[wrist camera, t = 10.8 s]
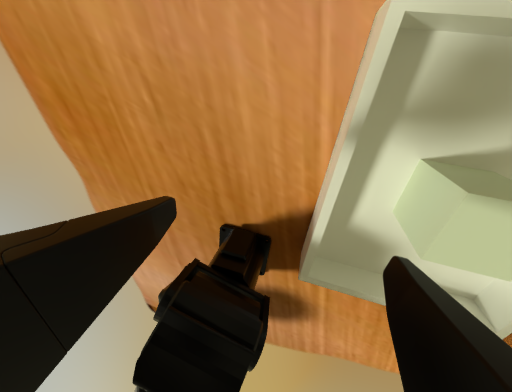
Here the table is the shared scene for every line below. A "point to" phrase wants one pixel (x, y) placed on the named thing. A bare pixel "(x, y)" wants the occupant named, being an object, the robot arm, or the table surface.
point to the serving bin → (415, 145)
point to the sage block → (459, 217)
